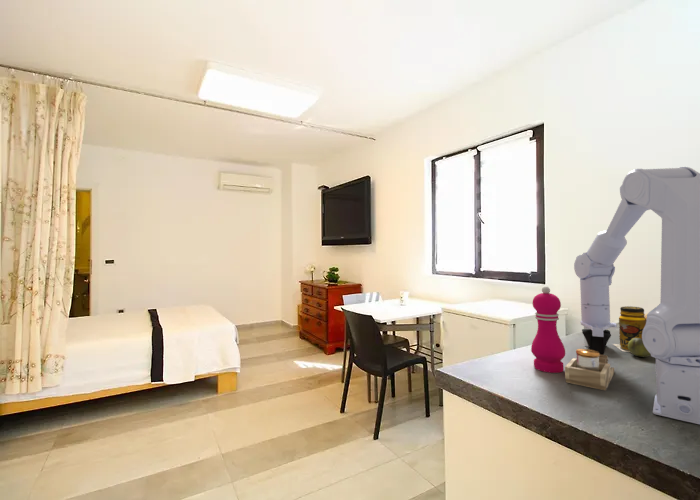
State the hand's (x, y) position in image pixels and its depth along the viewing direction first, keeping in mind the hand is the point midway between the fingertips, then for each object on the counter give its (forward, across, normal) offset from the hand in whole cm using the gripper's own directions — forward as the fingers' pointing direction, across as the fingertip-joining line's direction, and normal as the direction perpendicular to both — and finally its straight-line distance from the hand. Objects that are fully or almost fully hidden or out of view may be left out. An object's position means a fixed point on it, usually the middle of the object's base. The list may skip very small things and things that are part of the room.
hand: (596, 360), depth 83 cm
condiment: (+2, +23, -10) cm, 25 cm away
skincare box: (+2, +23, 0) cm, 23 cm away
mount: (+2, -8, +2) cm, 8 cm away
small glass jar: (+1, -11, +2) cm, 12 cm away
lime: (+2, +15, -10) cm, 18 cm away
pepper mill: (+2, -6, +10) cm, 12 cm away
